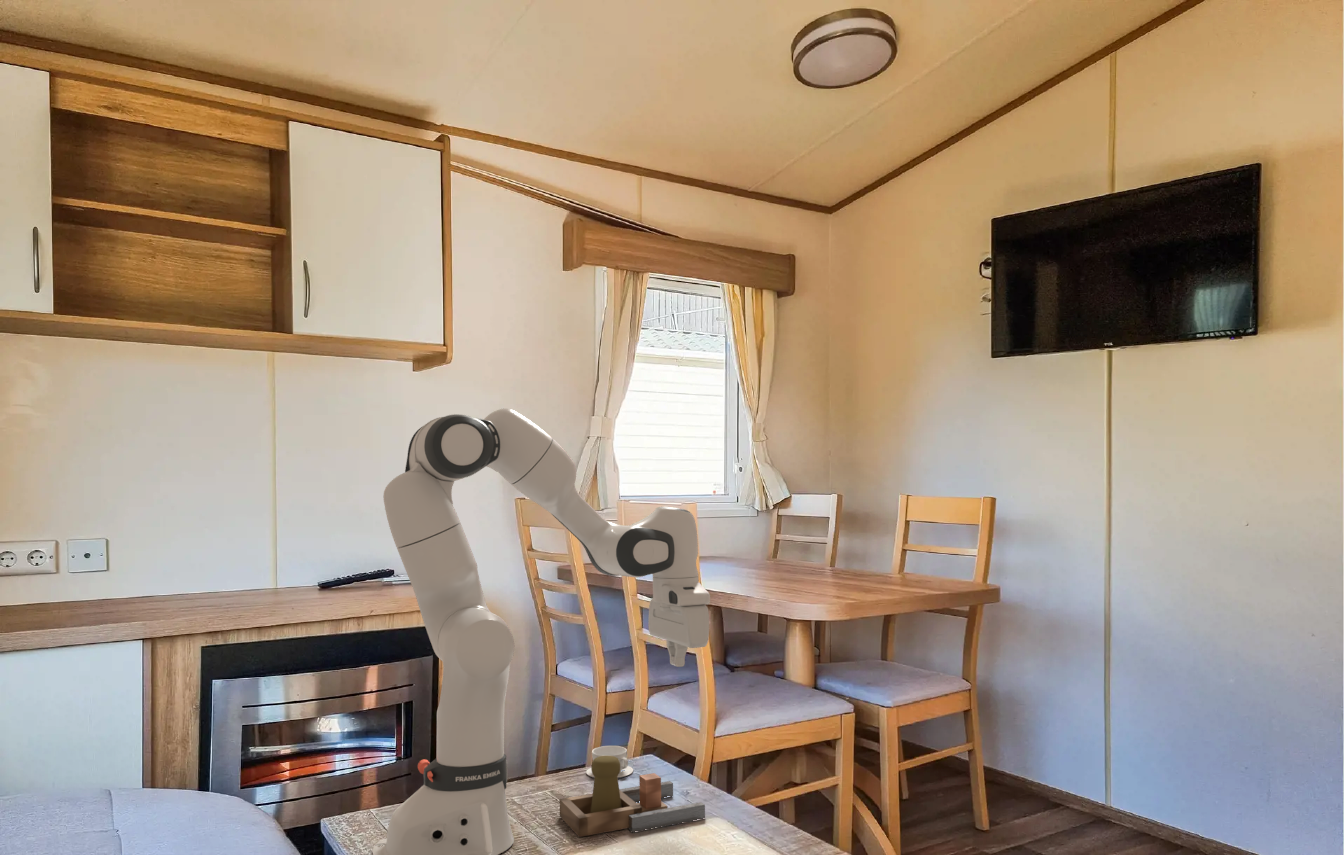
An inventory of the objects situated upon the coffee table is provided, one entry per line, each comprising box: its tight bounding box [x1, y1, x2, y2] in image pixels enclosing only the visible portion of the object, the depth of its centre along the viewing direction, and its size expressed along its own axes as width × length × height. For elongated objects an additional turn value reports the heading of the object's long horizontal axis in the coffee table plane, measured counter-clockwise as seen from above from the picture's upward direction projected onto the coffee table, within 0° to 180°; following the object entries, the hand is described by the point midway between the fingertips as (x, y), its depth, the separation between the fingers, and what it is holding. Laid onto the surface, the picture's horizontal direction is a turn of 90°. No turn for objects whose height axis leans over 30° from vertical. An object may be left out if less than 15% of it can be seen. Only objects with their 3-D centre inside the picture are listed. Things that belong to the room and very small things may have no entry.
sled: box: [559, 772, 669, 838], centre depth 154 cm, size 18×11×6 cm, turn 115°
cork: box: [590, 755, 622, 813], centre depth 154 cm, size 6×6×11 cm
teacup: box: [585, 745, 634, 779], centre depth 181 cm, size 10×10×5 cm
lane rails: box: [619, 780, 706, 833], centre depth 157 cm, size 14×15×2 cm
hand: (677, 665), depth 163 cm, fingers closed
